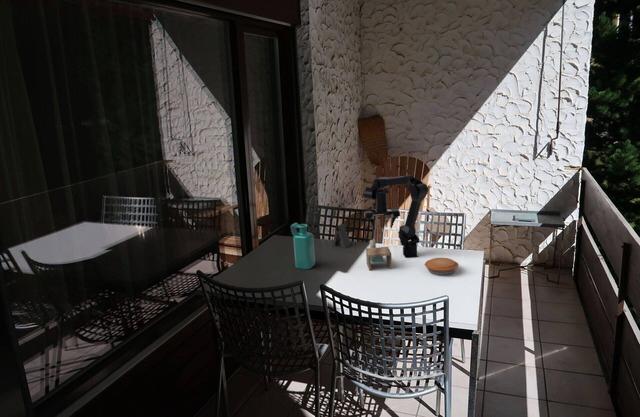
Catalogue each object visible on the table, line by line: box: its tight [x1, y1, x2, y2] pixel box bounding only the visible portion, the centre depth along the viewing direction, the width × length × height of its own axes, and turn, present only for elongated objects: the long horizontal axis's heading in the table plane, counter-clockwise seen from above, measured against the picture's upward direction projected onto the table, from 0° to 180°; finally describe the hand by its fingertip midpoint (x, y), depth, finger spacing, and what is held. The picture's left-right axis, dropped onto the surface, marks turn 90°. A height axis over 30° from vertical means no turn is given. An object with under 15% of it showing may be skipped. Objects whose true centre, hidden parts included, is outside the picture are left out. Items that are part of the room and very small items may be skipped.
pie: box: [423, 257, 459, 276], centre depth 244 cm, size 15×16×5 cm
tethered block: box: [369, 239, 384, 263], centre depth 270 cm, size 6×18×6 cm, turn 1°
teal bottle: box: [289, 222, 316, 270], centre depth 260 cm, size 10×8×22 cm
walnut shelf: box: [365, 246, 393, 271], centre depth 255 cm, size 11×10×8 cm
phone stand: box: [331, 223, 352, 249], centre depth 289 cm, size 9×6×12 cm, turn 55°
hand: (382, 229), depth 278 cm, fingers open, 9 cm apart
